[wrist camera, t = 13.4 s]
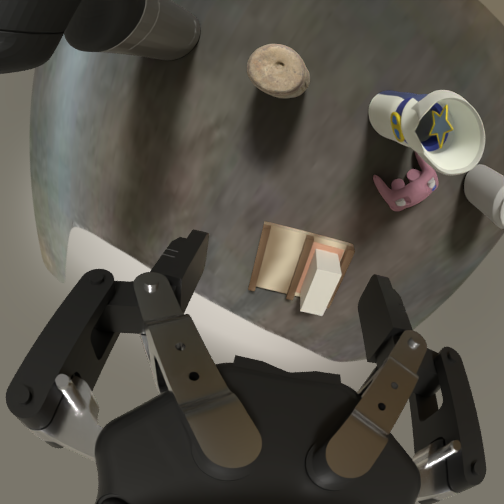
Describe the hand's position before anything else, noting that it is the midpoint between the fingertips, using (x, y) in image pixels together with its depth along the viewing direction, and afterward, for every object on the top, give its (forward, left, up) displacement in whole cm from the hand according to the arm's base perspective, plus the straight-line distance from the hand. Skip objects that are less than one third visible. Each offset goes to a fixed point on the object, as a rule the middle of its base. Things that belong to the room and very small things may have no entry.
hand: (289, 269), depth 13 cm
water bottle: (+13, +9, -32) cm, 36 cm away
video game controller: (+18, +1, -32) cm, 37 cm away
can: (+33, +5, -32) cm, 46 cm away
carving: (-4, +10, -32) cm, 34 cm away
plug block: (+10, -20, -31) cm, 38 cm away
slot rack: (+6, -20, -32) cm, 38 cm away
